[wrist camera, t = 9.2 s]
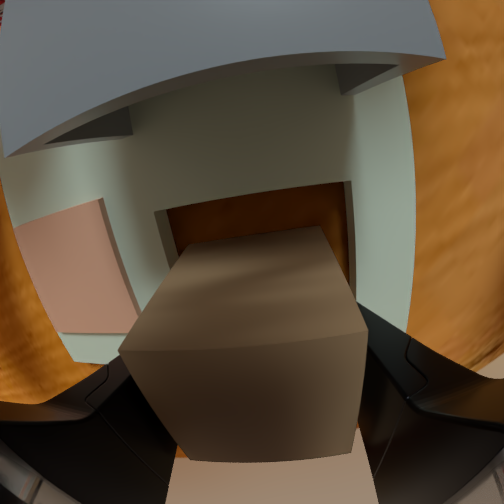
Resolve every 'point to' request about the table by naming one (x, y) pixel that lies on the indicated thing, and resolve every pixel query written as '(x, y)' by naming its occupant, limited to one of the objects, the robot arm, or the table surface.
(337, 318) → the walnut block
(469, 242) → the table surface
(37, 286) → the puzzle board
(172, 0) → the grey cubic box
